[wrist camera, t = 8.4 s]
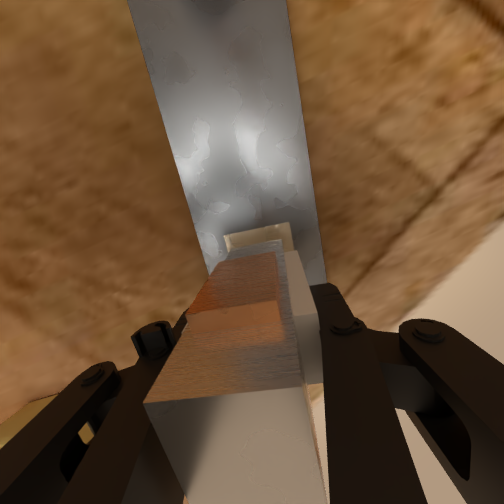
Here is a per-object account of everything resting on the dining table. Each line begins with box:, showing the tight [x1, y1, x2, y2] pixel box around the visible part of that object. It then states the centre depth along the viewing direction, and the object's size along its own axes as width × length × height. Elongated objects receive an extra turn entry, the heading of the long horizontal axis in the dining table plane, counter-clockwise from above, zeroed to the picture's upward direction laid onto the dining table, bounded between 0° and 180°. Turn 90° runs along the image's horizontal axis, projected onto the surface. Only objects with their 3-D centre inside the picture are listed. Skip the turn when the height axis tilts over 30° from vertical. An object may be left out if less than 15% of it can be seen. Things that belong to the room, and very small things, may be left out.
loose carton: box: [143, 239, 328, 504], centre depth 9 cm, size 5×3×10 cm, turn 13°
